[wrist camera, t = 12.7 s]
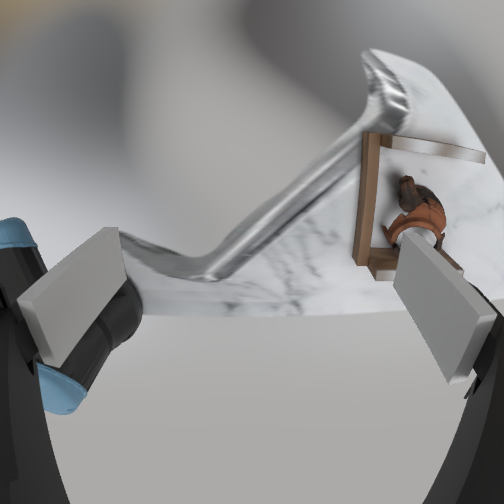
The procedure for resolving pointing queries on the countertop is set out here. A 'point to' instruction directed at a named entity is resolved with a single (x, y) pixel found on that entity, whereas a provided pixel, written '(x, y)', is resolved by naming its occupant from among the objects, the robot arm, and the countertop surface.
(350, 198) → the countertop surface
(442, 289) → the robot arm
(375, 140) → the wooden stand
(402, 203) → the pottery mug
